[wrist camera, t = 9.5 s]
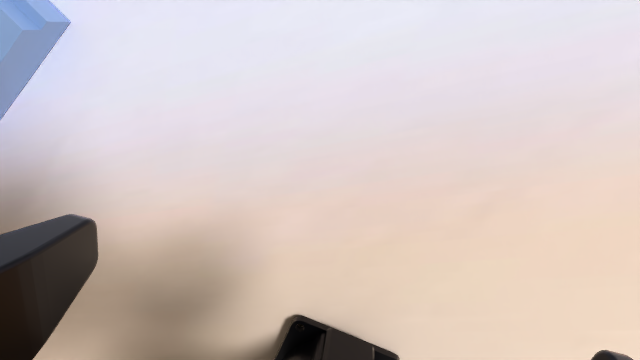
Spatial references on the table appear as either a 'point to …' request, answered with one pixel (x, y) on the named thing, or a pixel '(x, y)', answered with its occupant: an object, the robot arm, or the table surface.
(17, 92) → the blue rectangular tray
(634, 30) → the table surface
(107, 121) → the table surface
